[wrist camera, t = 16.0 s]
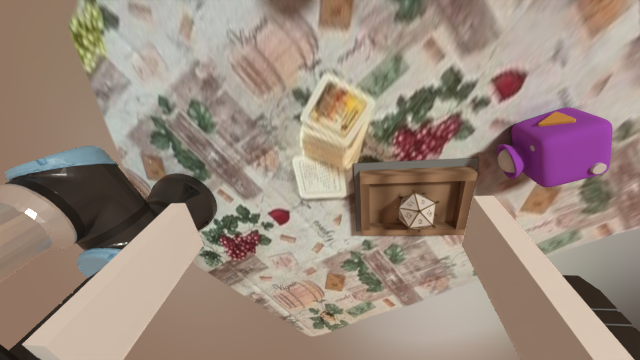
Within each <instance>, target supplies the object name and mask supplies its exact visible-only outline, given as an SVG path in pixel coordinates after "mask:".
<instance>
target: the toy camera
mask: <svg viewBox="0 0 640 360" xmlns="http://www.w3.org/2000/svg"><path fill="white" fill-rule="evenodd" d="M512 145H513V146H510V145H505V144H500V145H499V146H498V148H497V157H498V164H499V166H500V167H501V169H503V171H504V173H505V174H506V175H507V176H508V177H509V178H511V179H515V178H516V177H518V176H519V174H520V173H521V172H524V173H525V174H526V175H527V176H528V177H530V178H531V179H532V180H533V181H535V182H536V183H537V184H539V185H541V186H543V187H553V186H557V185H562V184H566V183H570V182H573V181H577V180H581V179H585V178H589V177H593V176H597V175H600V174H602V173H605V172H606V171H607V170H608V169H609V165H610V158H611V145H612V125H611V123H610V122H609V121H608V120H606V119H603V118H601V117H598V116H595V115H592V114H589V113H586V112H583V111H580V110H577V109H574V108H562V109H558V110H555V111H552V112H549V113H546V114H543V115H540V116H537V117H534V118H531V119H528V120H525V121H522V122H519V123H517V124H515V125H514V126H513V127H512Z"/></svg>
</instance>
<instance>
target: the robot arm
mask: <svg viewBox="0 0 640 360" xmlns="http://www.w3.org/2000/svg"><path fill="white" fill-rule="evenodd" d="M5 175H6V179H7V180H8V181H9V182H8V183H5V184H3V185H0V283H1V282H2V281H3V280H5V279H6V278H8V277H9V276H11V275H12V274H14V273H15V272H16V271H18V270H19V269H21V268H22V267H24V266H25V265H26V264H28V263H29V262H31V261H32V260H34V259H35V258H37V257H38V256H39V255H41V254H42V253H44V252H45V251H47V250H48V249H65V248H69V247H71V246H72V245H74V244H75V243H77V244H78V245H79V246H80V247H81V248H82V249H83V250H84V251H83V252H82V253H81V254H80V255H79V257H78V259H77V265H78V267H79V270H80V271H81V272H82V273H83V274H84V275H85V276H86V277H88V278H87V279H86V280H85V281H84V282H83V283H82V284H81V285H80V286H78V288H76V289H75V290H74V293H73V294H70V295H69V296H68V297H67V298H66V299H64V300H63V302H62V304H59V305H58V306H57V307H56V308H55V309H54V310H53V311H52V312H50V313H49V314H48V315H47V316H46V317H45V318H44V319H43V320H42V321H41V322H40V323H39V324H37V325H36V326H35V327H34V328H33V329H32V330H31V331H30V332H29V333H28V334H27V335H26V336H25V337H23V338H22V339H21V340H20V341H19V342H18V343H17V344H16V345H15V346H13V347H12V348H11V349H10V350H9V351H8V350H7V349H5V348H4V347H3V346H2V345H0V360H123V359H124V358H125V356H126V355H127V353H128V352H129V350H130V349H131V348H132V346H133V345H134V343H135V342H136V341H137V339H138V338H139V336H140V335H141V333H142V332H143V331H144V329H145V328H146V326H147V325H148V323H149V322H150V320H151V319H152V318H153V316H154V315H155V313H156V312H157V311H158V309H159V308H160V306H161V305H162V304H163V302H164V300H165V299H166V298H167V296H168V295H169V294H170V292H171V291H172V289H173V288H174V286H175V285H176V283H177V282H178V281H179V279H180V278H181V276H182V275H183V273H184V272H185V271H186V269H187V268H188V266H189V265H190V264H191V262H192V261H193V259H194V258H195V256H196V255H197V254H198V252H199V251H200V249H201V248H202V246H203V245H204V244H203V242H202V240H201V238H200V235H199V233H198V231H199V230H200V229H202V228H204V227H205V226H207V225H208V224H209V223H210V222H211V220H212V219H213V218H214V216H215V214H216V211H217V204H216V200H215V198H214V196H213V194H212V193H211V191H210V190H209V189H208V188H207V187H206V186H205V185H204V184H203V183H202V182H200V181H199V180H197V179H195V178H193V177H191V176H188V175H184V174H170V175H167V176H165V177H163V178H162V179H160V180H159V181H158V182H157V183H156V184H155V185H154V186H153V188H152V190H151V193H150V194H149V196H148V198H147V199H146V200H145V199H144V198H143V197H142V196H141V194H140V193H139V192H138V191H137V189H136V188H135V187H134V186H133V184H132V183H131V182H130V181H129V180H128V178H127V177H126V176H125V175H124V173H123V172H122V171H121V170H120V169H119V167H118V164H117V163H116V162H114V161H113V160H112V159H111V158H110V157H109V155H108V154H107V153H106V152H105V151H104V150H103V149H101V148H100V147H97V146H83V147H79V148H74V149H70V150H67V151H63V152H60V153H56V154H53V155H50V156H47V157H44V158H42V159H38V160H35V161H31V162H27V163H25V164H22V165H19V166H16V167H14V168H11V169H9V170H7V171H6V172H5ZM462 246H463V248H464V250H465V252H466V254H467V256H468V258H469V260H470V262H471V264H472V266H473V268H474V270H475V271H476V273H477V275H478V277H479V279H480V281H481V283H482V285H483V287H484V289H485V291H486V293H487V295H488V297H489V299H490V301H491V303H492V305H493V307H494V308H495V311H496V312H497V314H498V316H499V318H500V320H501V322H502V324H503V326H504V328H505V330H506V332H507V334H508V336H509V338H510V340H511V342H512V344H513V346H514V347H515V349H516V351H517V353H518V355H519V357H520V359H521V360H640V332H639V331H638V330H637V329H636V328H633V327H632V324H631V323H630V321H628V319H627V318H626V317H624V315H623V314H622V313H621V312H618V311H617V308H616V307H615V306H614V305H613V304H612V303H611V302H610V301H609V300H608V298H607V297H606V296H605V295H604V294H603V293H602V292H601V291H600V290H598V289H597V288H595V287H594V286H592V285H591V284H590V283H588V282H587V281H585V280H584V279H582V278H581V277H579V276H568V275H567V276H566V275H561V274H560V273H559V271H558V270H557V269H556V268H555V267H554V266H553V264H552V263H551V262H550V261H549V260H548V259H547V257H546V256H545V255H544V254H543V253H542V252H541V250H540V249H539V248H538V247H537V246H536V245H535V243H534V242H533V241H532V240H531V239H530V238H529V236H528V235H527V234H526V233H525V232H524V231H523V230H522V228H521V227H520V226H519V225H518V224H517V223H516V221H515V220H514V219H513V218H512V217H511V216H510V214H509V213H508V212H507V211H506V210H505V209H504V207H503V206H502V205H501V204H500V203H499V202H498V200H497V199H496V198H495V197H494V196H473V199H472V204H471V208H470V213H469V217H468V221H467V226H466V230H465V235H464V239H463V243H462Z"/></svg>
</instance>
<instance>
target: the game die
mask: <svg viewBox="0 0 640 360" xmlns="http://www.w3.org/2000/svg"><path fill="white" fill-rule="evenodd" d="M425 195H426V193H423V195H421V194H418V193H415V189H413V193H412V194H410V195H408V196H406V197H404V198H402V196H399V197H400V199H402V200H401V202H400V204H399V207H397V206H396V207H394V208H395V209H398V215H399V218H397V219H396V221H399V220H400V221H401V222H403V223H404V224H405V225H406V226H407V227H408V228H407V232H408V231H409V230H410V229H418V232H419V233H420V232H421V231H420V229H423V228H427V227H430V226H432V227H433V228H435V229H436V226H435V225H433V223H434V217H435V216H438V214H435V210H436V204H438V203H439V202H440V201H436V202H434V201H432V200H431V199H429V198H427V197H426V196H425Z"/></svg>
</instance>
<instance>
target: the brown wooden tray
mask: <svg viewBox="0 0 640 360" xmlns="http://www.w3.org/2000/svg"><path fill="white" fill-rule="evenodd" d="M477 175H478V173H477V172H476V171H475V170H474V169H473V168H472V166H457V167H433V168H409V169H384V170H360V198H361V228H362V235H464V232H465V228H466V224H467V219H468V215H469V210H470V206H471V201H472V197H473V192H474V188H475V184H476V179H477ZM413 189H415V193H418V194H421V195H423V193H426V195H425V196H426V197H427V198H429V199H431V200H432V201H434V202H436V201H440V202H439V203H438V204H436V210H435V214H438V216H435V217H434V223H433V225H435V226H436V229H435V228H433V227H432V226H430V227H427V228H423V229H420V231H421V232H420V233H419V232H418V229H410V230H409V231H408V232H407V228H408V227H407V226H406V225H405V224H404V223H403V222H401V221H400V220H399V221H396V219H397V218H399V215H398V209H395V208H394V207H396V206H397V207H399V204H400V202H401V200H402V199H400V197H399V196H402V198H404V197H406V196H408V195H410V194H412V193H413Z"/></svg>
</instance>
